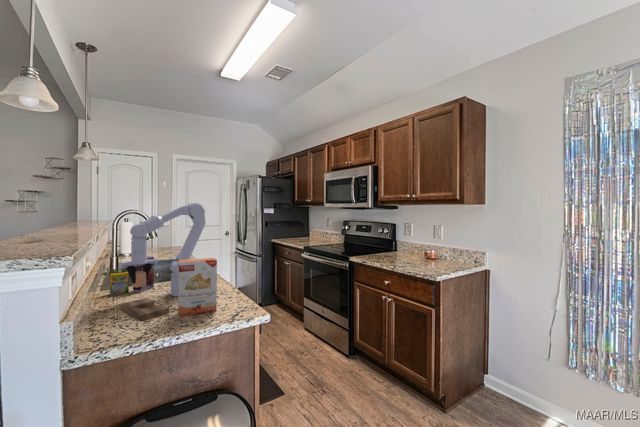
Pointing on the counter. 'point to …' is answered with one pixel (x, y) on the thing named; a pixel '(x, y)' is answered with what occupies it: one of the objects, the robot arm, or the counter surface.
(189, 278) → the cracker box
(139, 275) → the terracotta plug
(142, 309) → the notched board
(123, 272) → the crayon box
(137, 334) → the counter surface
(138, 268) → the supplement box
